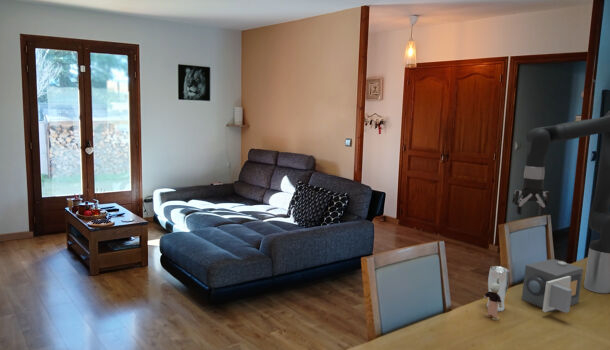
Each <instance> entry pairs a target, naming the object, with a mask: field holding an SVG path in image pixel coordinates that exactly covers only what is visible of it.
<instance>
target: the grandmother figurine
mask: <svg viewBox="0 0 610 350" xmlns="http://www.w3.org/2000/svg"><path fill="white" fill-rule="evenodd" d="M499 287H500V286H499V284H498V283H493V284H491V285H490V287H489V289H491V291H492V292H489V291H487V292H485V293H484V296H483V299H484V300H487V298H488V300H489V304H488V307H487V314H486V315H485V316H486V317H487V318H491V320H493V321H499V320H500V317H499V316H498V311H497V310H498V304H499V307H500V308H502V301H501V298H500V296H499V295H498V294H497V292H498V291H499ZM489 289H488V290H489Z"/></svg>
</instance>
